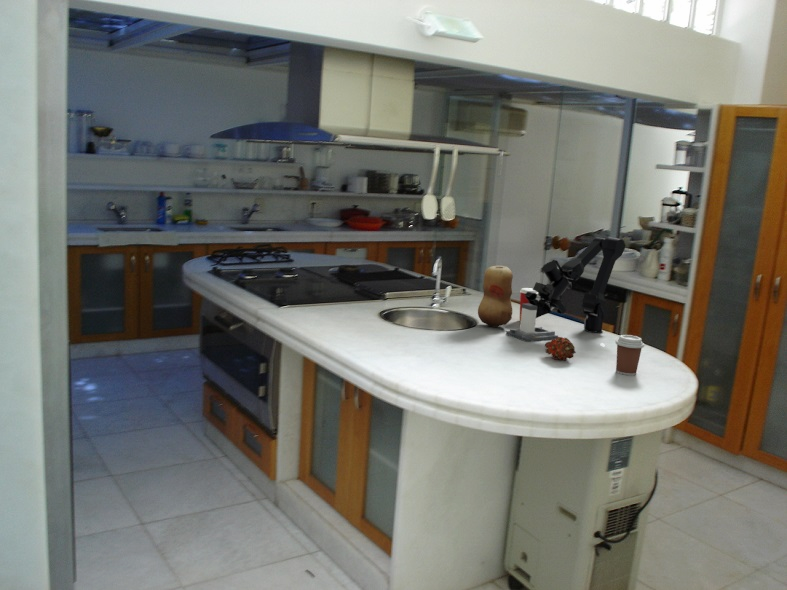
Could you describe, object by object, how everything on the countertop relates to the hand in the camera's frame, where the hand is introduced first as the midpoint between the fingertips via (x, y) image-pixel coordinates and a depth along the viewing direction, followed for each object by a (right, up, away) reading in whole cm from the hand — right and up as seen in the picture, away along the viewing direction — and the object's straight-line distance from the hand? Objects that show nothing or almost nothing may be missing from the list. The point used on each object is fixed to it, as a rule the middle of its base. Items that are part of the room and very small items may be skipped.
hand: (531, 318), depth 281 cm
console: (0, -7, +2) cm, 7 cm away
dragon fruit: (+4, -13, -28) cm, 31 cm away
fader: (-2, -6, 0) cm, 6 cm away
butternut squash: (-13, -4, +14) cm, 20 cm away
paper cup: (+3, -2, +28) cm, 28 cm away
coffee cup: (+24, -17, -40) cm, 49 cm away
